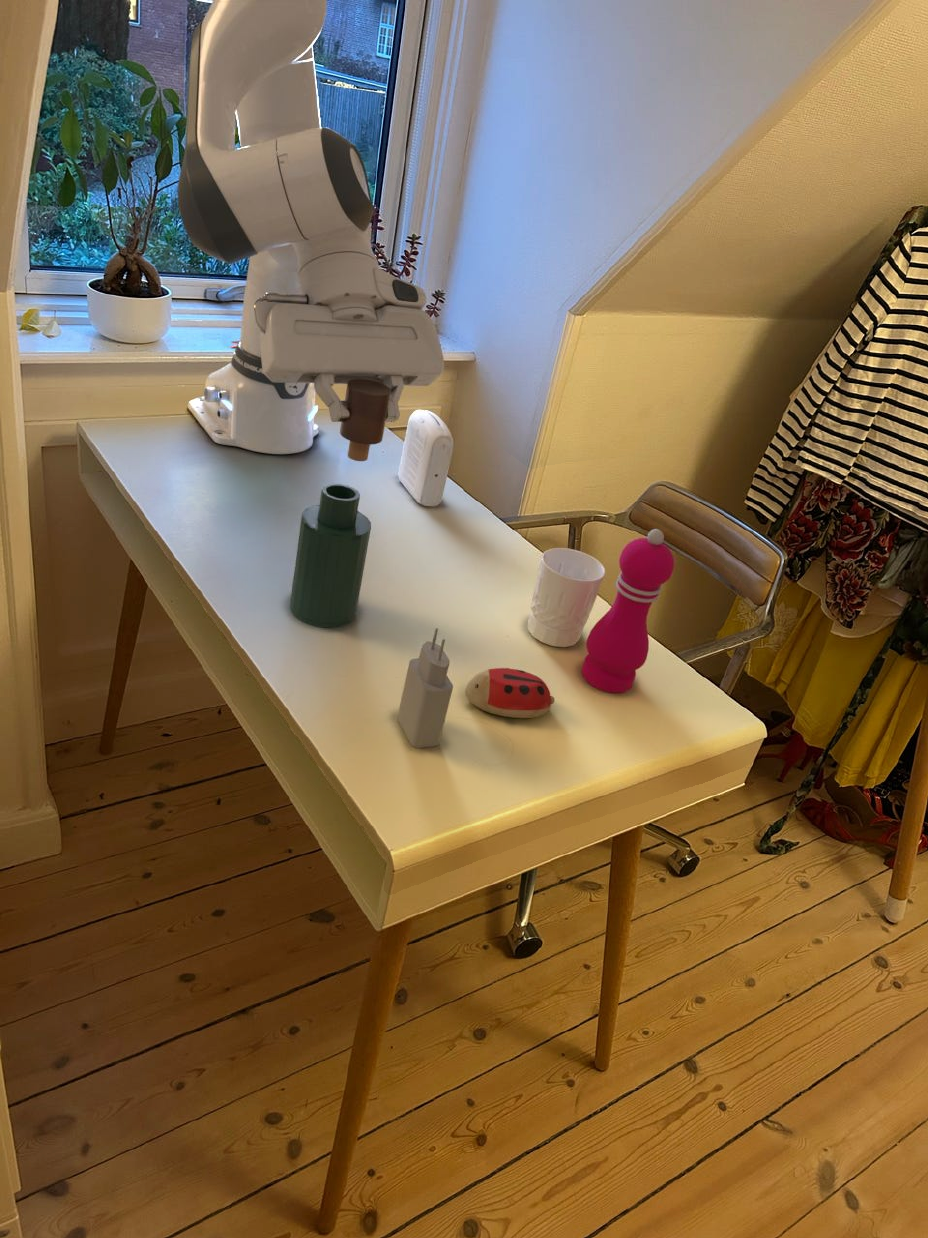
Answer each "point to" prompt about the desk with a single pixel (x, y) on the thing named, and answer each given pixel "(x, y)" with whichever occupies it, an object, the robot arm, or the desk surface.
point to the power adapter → (426, 696)
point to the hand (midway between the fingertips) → (366, 420)
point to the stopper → (365, 416)
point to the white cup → (564, 596)
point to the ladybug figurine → (509, 693)
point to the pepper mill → (628, 615)
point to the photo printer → (426, 457)
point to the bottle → (330, 559)
